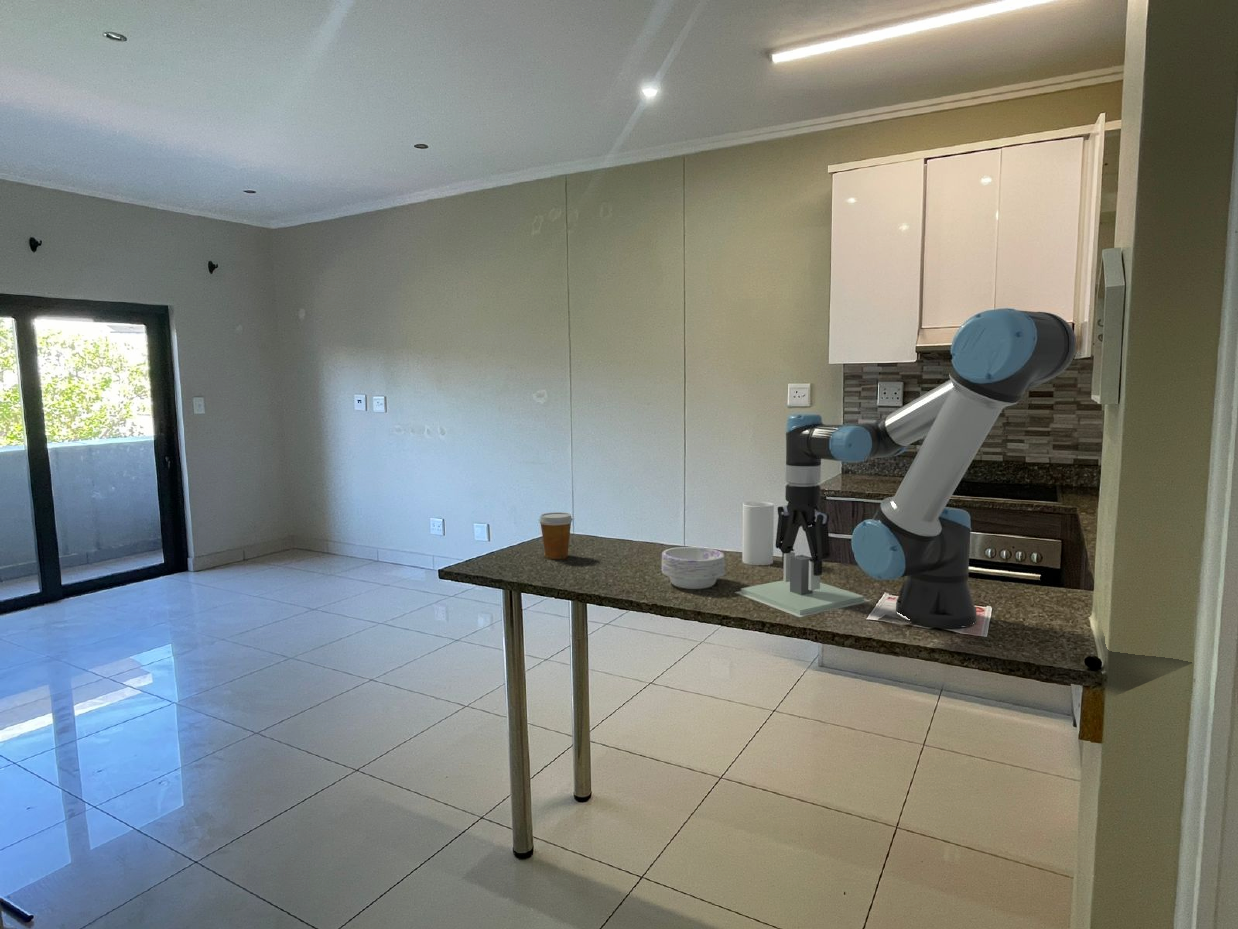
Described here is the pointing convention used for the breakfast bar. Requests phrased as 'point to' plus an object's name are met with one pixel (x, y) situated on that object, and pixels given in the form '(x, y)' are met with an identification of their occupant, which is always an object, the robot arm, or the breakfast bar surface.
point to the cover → (801, 591)
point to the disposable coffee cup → (556, 534)
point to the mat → (802, 614)
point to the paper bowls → (693, 566)
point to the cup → (758, 533)
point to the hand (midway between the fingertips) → (801, 584)
